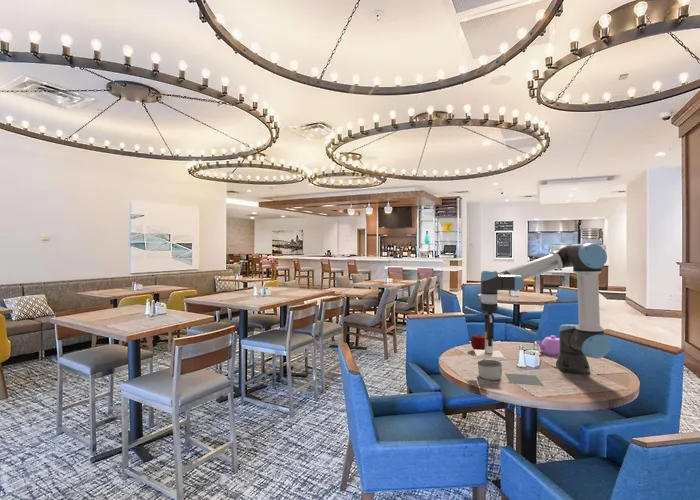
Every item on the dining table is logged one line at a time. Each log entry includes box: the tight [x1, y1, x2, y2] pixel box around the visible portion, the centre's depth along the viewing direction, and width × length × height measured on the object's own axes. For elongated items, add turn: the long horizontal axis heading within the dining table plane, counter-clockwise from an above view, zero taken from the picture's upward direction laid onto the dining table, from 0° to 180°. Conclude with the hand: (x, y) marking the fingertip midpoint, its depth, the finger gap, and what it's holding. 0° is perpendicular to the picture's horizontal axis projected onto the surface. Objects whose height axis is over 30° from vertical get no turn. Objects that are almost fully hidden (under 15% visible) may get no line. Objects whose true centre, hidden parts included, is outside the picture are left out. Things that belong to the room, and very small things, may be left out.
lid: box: [473, 331, 505, 361], centre depth 178 cm, size 12×12×11 cm
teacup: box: [477, 359, 503, 381], centre depth 178 cm, size 14×11×8 cm
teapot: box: [535, 335, 560, 357], centre depth 222 cm, size 14×20×11 cm
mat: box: [504, 373, 545, 387], centre depth 173 cm, size 14×14×1 cm
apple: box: [470, 334, 485, 350], centre depth 226 cm, size 10×10×10 cm
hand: (488, 351), depth 178 cm, fingers closed on lid, 3 cm apart
